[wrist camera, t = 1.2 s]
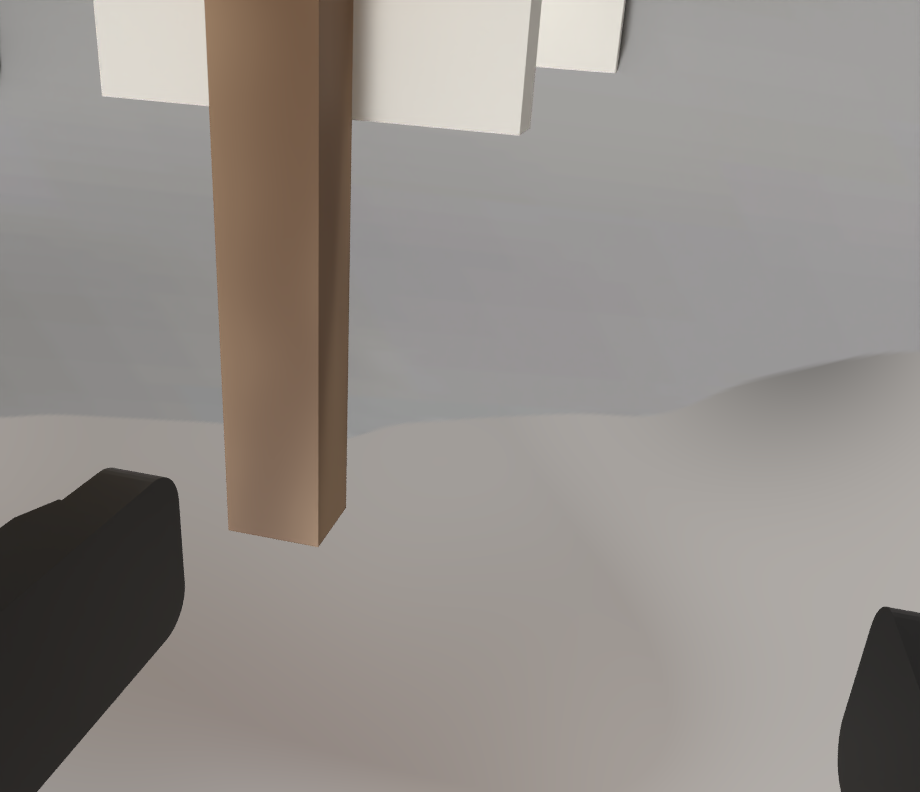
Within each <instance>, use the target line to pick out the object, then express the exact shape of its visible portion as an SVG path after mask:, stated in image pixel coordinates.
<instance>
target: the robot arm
mask: <svg viewBox="0 0 920 792" xmlns="http://www.w3.org/2000/svg"><path fill="white" fill-rule="evenodd" d="M184 592H185V581H184V567H183V554H182V538H181V525H180V510H179V498H178V492H177V488H176V486H175V484H174V483H173V481H172V480H170V479H169V478H165V477H160V476H155V475H149V474H144V473H138V472H132V471H128V470H122V469H116V468H107V469H104V470H102V471H100V472H99V473H97V474H96V475H95V476H93V477H92V478H91V479H90V480H88V481H87V482H86V483H84V484H83V485H82V486H80V487H79V488H78V489H76V490H75V491H74V492H72V493H71V494H70V495H68V496H67V497H66V498H64V499H63V500H56V501H54V502H52V503H49V504H47V505H44V506H42V507H39V508H37V509H35V510H32V511H30V512H27V513H25V514H22V515H20V516H18V517H15V518H13V519H12V520H10V521H9V522H8V523H6V524H5V525H4V526H2V527H1V528H0V792H37V791H38V790H39V789H40V788H41V786H42V785H43V784H44V783H45V782H46V781H47V779H48V778H49V777H50V776H51V775H52V773H53V772H54V771H55V770H56V769H57V768H58V767H59V765H60V764H61V763H62V762H63V761H64V759H65V758H66V757H67V756H68V755H69V754H70V752H71V751H72V750H73V749H74V748H75V747H76V745H77V744H78V743H79V742H80V741H81V739H82V738H83V737H84V736H85V735H86V734H87V732H88V731H89V730H90V729H91V728H92V727H93V725H94V724H95V723H96V722H97V721H98V720H99V718H100V717H101V716H102V715H103V714H104V712H105V711H106V710H107V709H108V707H110V705H111V704H112V703H113V702H114V701H115V700H116V698H117V697H118V696H119V695H120V694H121V693H122V691H123V690H124V689H125V688H126V687H127V686H128V684H129V683H130V682H131V681H132V680H133V678H134V677H135V676H136V675H137V673H139V671H140V670H141V669H142V668H143V667H144V666H145V664H146V663H147V662H148V660H150V659H151V657H152V656H153V655H154V654H155V653H156V651H157V650H158V649H159V648H160V647H161V646H162V644H163V643H164V642H165V641H166V640H167V638H168V637H169V636H170V634H171V632H172V631H173V629H174V627H175V625H176V623H177V621H178V618H179V615H180V612H181V609H182V605H183V600H184ZM838 775H839V783H840V788H841V792H920V613H917V612H912V611H906V610H901V609H895V608H890V607H882V608H881V609H880V610H879V611H878V612H877V614H876V615H875V617H874V620H873V622H872V625H871V628H870V631H869V635H868V638H867V641H866V645H865V648H864V651H863V654H862V658H861V661H860V664H859V667H858V671H857V674H856V677H855V680H854V684H853V687H852V690H851V693H850V697H849V700H848V703H847V707H846V710H845V713H844V716H843V720H842V724H841V729H840V736H839V744H838Z"/></svg>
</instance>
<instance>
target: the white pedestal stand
mask: <svg viewBox="0 0 920 792" xmlns="http://www.w3.org/2000/svg"><path fill="white" fill-rule="evenodd" d="M93 1H94V12H95V23H96V34H97V45H98V56H99V67H100V77H101V88H102V96H107V97H117V98H128V99H139V100H149V101H160V102H170V103H181V104H191V105H202V106H209V93H208V71H207V49H206V27H205V6H204V0H93ZM625 4H626V0H354V2H353V69H352V120H361V121H371V122H382V123H392V124H403V125H413V126H424V127H434V128H445V129H456V130H466V131H477V132H487V133H498V134H508V135H521V134H522V133H524V132H526V131H527V130H529V129H530V124H531V113H532V102H533V92H534V81H535V70H536V67H544V68H556V69H569V70H581V71H594V72H606V73H616V72H617V67H618V59H619V52H620V44H621V36H622V28H623V20H624V12H625Z"/></svg>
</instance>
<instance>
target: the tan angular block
mask: <svg viewBox="0 0 920 792" xmlns="http://www.w3.org/2000/svg"><path fill="white" fill-rule="evenodd" d="M353 2H354V0H204V6H205V27H206V49H207V71H208V93H209V114H210V136H211V158H212V179H213V201H214V223H215V244H216V266H217V288H218V310H219V331H220V353H221V375H222V396H223V418H224V440H225V460H226V461H225V462H226V482H227V505H228V525H229V526H228V527H229V530H231V531H236V532H241V533H246V534H252V535H257V536H262V537H268V538H273V539H278V540H283V541H289V542H294V543H300V544H305V545H310V546H315V547H319V545H320V544H321V542H322V541H323V540H324V538H325V537H326V535H327V534H328V533H329V531H330V530H331V528H332V527H333V525H334V524H335V522H336V521H337V520H338V518H339V517H340V515H341V514H342V513H343V511H344V510H345V508H346V466H347V400H348V334H349V268H350V201H351V135H352V69H353Z"/></svg>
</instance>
